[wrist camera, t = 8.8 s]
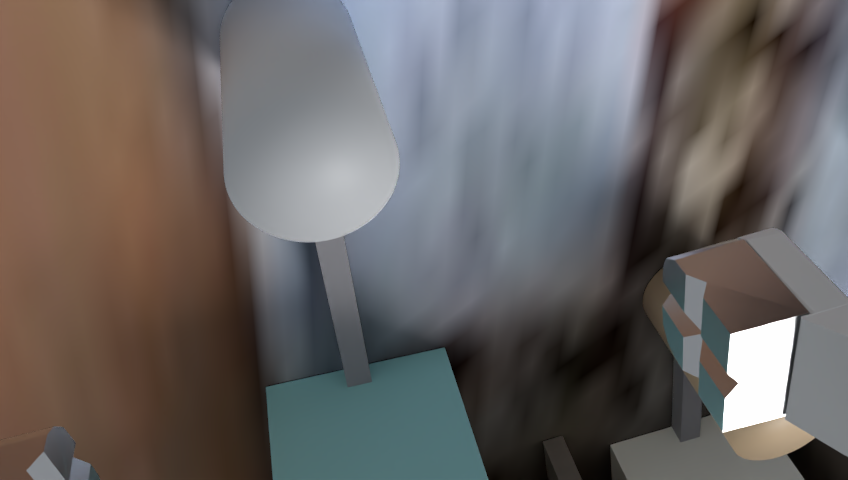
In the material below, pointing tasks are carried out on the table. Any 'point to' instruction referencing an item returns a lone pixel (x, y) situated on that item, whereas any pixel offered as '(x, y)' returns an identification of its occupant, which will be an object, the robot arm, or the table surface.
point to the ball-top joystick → (331, 242)
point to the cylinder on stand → (703, 433)
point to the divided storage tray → (816, 461)
